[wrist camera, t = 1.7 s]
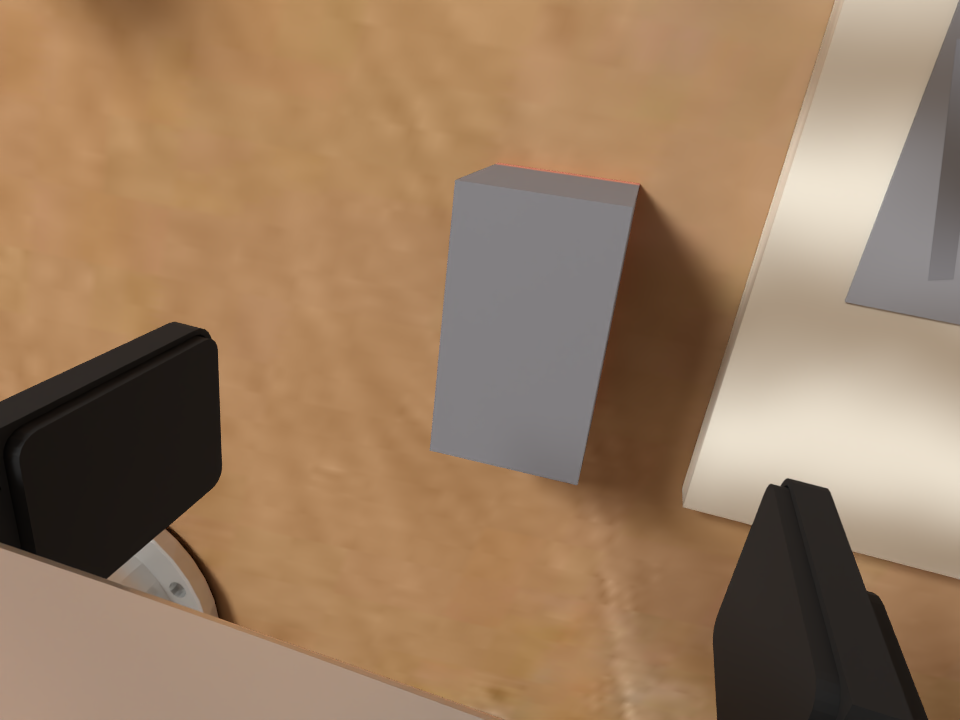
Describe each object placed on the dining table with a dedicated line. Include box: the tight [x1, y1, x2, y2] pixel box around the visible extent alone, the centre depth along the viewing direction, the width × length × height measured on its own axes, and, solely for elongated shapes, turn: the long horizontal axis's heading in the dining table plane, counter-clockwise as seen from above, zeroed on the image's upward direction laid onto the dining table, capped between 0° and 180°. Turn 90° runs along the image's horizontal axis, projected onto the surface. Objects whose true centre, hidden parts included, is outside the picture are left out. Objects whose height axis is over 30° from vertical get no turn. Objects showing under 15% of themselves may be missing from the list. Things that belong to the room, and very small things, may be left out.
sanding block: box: [430, 163, 640, 485], centre depth 20 cm, size 8×4×5 cm, turn 173°
